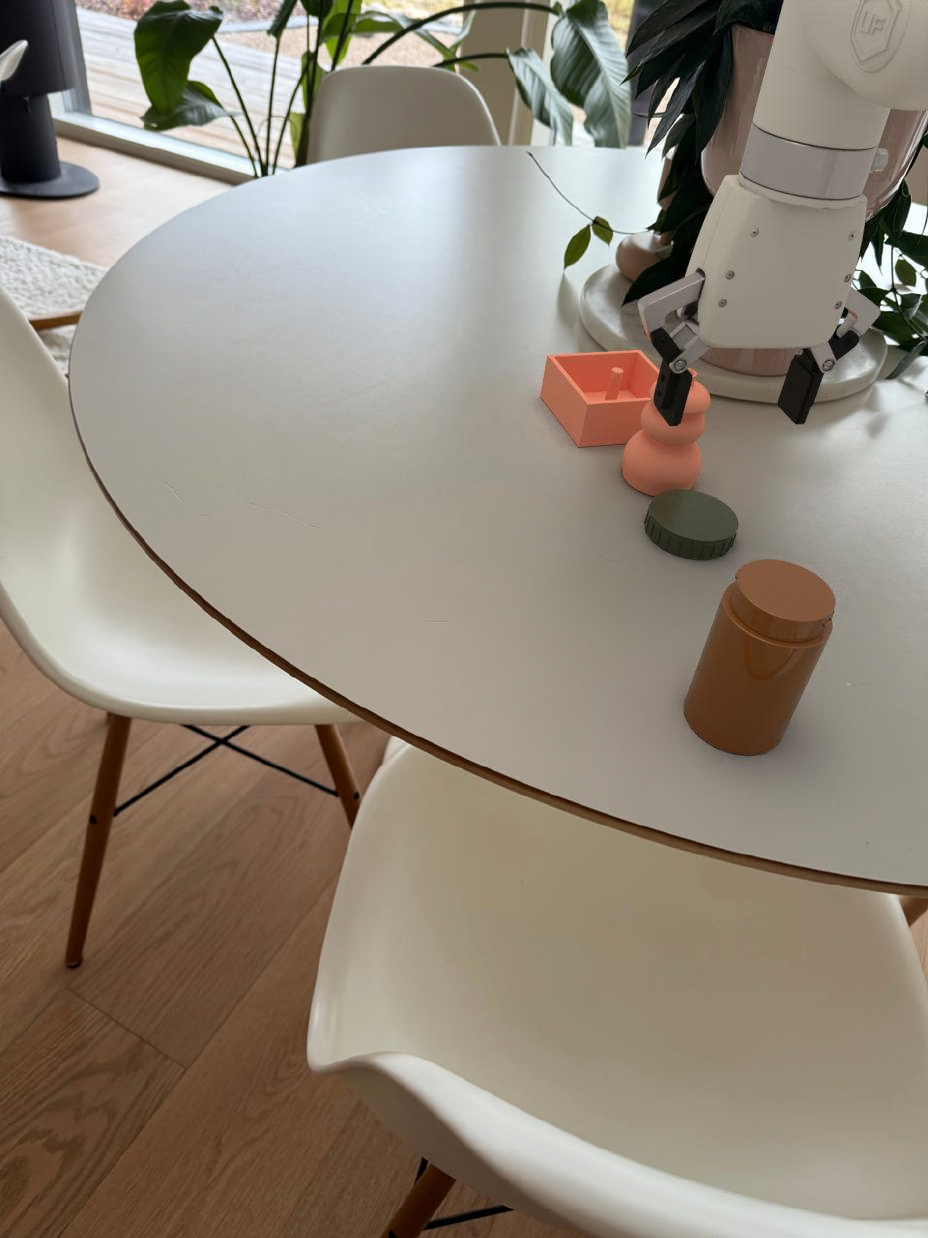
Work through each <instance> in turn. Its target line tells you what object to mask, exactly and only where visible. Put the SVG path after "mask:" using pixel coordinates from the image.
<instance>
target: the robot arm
mask: <svg viewBox="0 0 928 1238" xmlns="http://www.w3.org/2000/svg"><path fill="white" fill-rule="evenodd" d="M769 52H770V53H769V55H768V58H767V59H768V60H767V63H766V68H765V71H764V75H763V79H762V82H761V85H760V90H759V94H758V97H757V101H756V105H755V109H754V113H753V116H752V121H751V124H750V128H749V132H748V136H747V139H746V144H745V147H744V150H743V155H742V158H741V159H742V160H741V162H740V166H739V170H738V174H726V175H725V176H724V177H723V179H722V182H721V183H720V185H719V187H718V190H717V191H716V194H715V195H714V197H713V200H712V202H711V204H710V206H709V209H708V211H707V213H706V215H705V218H704V221H703V223H702V226H701V228H700V230H699V234H698V236H697V238H696V241H695V244H694V247H693V251H692V253H691V257H690V259H689V263H688V266H687V269H686V272H685V275H684V277H682V278H680V279H678V280H676V281H674V282H672V283H669V284H667V285H665V286H663V287H661V288H659V289H656V290H654V291H652V292H651V293H648V294H646V295H644V296H642V297H640V298H639V299H638V301H637V309H638V312H639V316H640V320H641V324H642V326H643V330H644V331H643V333H644V335H645V338H646V339H647V340H648V341H649V343H650V344H651V345H652V347H653V348H654V349H655V351H656V352H657V353H658V355H659V356H660V357H661V364H660V366H659V367H660V368H659V370H660V371H659V375H658V380H657V384H656V388H655V392H654V398H653V400H654V404H655V406H656V408H657V410H658V411H659V413H660V414H661V415H662V417H663V418H664V420H665V421H666V422H667V424H668V425H669V426H678V425H679V424H680V423H681V420H682V417H683V413H684V409H685V406H686V402H687V398H688V394H689V391H690V387H691V383H692V379H693V377H692V374H691V373H690V372H689V370H688V368H690V367H691V366H692V365H693V364H694V363H695V362H697V361H698V360H699V359H700V358H701V357H702V356H703V355H704V354H706V352H708V351H709V350H710V349H711V348H715V349H750V350H751V349H752V350H753V349H757V350H758V349H761V350H762V349H763V350H764V349H765V350H766V349H770V350H771V349H773V350H774V349H775V350H776V349H779V350H781V349H783V350H784V349H785V350H786V349H790V350H791V349H800V351H801V354H794V355H793V358H792V359H791V360H790V363H789V365H788V369H787V372H786V375H785V378H784V381H783V384H782V387H781V390H780V393H779V396H778V399H777V406H778V408H779V409H780V410H781V411H782V412H783V413H784V414H785V415H786V416H787V418H788V419H789V420H790V421H791V422H792V423H794V425H805V424H806V422H807V418H808V416H809V413H810V410H811V408H813V406H814V404H815V401H816V398H817V395H818V392H819V389H820V387H821V384H822V382H823V378H824V375H825V374H829V373H831V372H833V371H834V370H835V368H836V366H837V363H838V361H839V360H840V359H842V358H843V357H844V356H845V355H846V354H848V353H849V352H850V351H852V350H853V349H854V348H856V347H857V346H858V345H859V343H860V337H861V336H864V334H865V333H866V332H867V331H868V330H869V329H870V328H871V327H872V325H873V324H874V323H875V322H876V321H877V319H879V317H880V316H881V312H882V311H881V308H880V306H877V305H876V304H875V303H874V302H873V301H872V300H870V299H868V298H867V297H866V296H865V295H864V294H863V293H861V292H859V291H858V290H856V288H854V287H853V286H852V283H853V280H854V277H855V273H856V269H857V264H858V260H859V256H860V252H861V248H862V243H863V236H864V232H865V225H866V224H865V223H866V219H867V209H868V198H867V196H866V195H865V194H864V193H863V191H864V189H865V188H866V186H867V183H868V180H869V177H870V174H873V173H881V172H884V170H886V168H887V166H888V164H889V161H890V159H889V158H890V154H889V151H888V149H887V148H881V147H880V145H881V139H882V136H883V133H884V130H885V128H886V125H887V121H888V118H889V115H890V113H891V110H898V111H912V112H913V111H917V112H918V111H923V112H924V111H925V112H926V111H928V0H783V2H782V6H781V11H780V13H779V18H778V21H777V25H776V29H775V33H774V37H773V40H772V44H771V48H770V51H769ZM844 309H847V311H848V312H847V315H846V316H845V317H844V319H843V322H842V323H840V324H839V322H840V320H841V318H842V315H843V313H844ZM674 311H676V315H677V316H678V318H679V319H680V320H681V321H682V322H681V323H680V324H679V325H678V326H677V327H675V328H674V329H673V330H672V331H671V332H670V333H668V329H667V323H666V318H667V317H668V315H669V314H670V313H672V312H674Z"/></svg>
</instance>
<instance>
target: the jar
mask: <svg viewBox="0 0 928 1238" xmlns="http://www.w3.org/2000/svg"><path fill="white" fill-rule="evenodd" d="M734 579H735V580H734V581H733V582H731V583H730V584H728V586H727V587H726V588H725V589H724V591H723V594H722V596H721V599H720V601H719V605H718V606H717V610H716V613H715V615H714V618H713V621H712V624H711V627H710V629H709V632H708V636H707V637H706V640H705V643H704V645H703V649H702V652H701V653H700V657H699V659H698V663H697V665H696V668H695V671H694V673H693V676H692V680H691V682H690V685H689V688H688V690H687V693H686V696H685V698H684V701H683V713H684V716H685V717H684V718H685V719H686V722H687V723H688V725H689V726H690V728H691V730H693V731H694V733H695V734H696V735H697V736H698V737H700V738H701V739H702V740H703V741H704V742H706V743H707V744H710V745H711V746H713V747H714V748H717V749H718V750H721V751H724V752H727V753H731V754H733V755H740V756H756V755H762V754H765V753H768V752H770V751H772V750H774V749H775V748H776V747H777V746H778V745H779V744H780V743H781V742H782V739H783V738H784V735H785V733H786V731H787V728H788V727H789V724H790V722H791V720H792V718H793V716H794V714H795V711H796V710H797V707H798V705H799V703H800V701H801V699H802V697H803V695H804V692H805V690H806V688H807V686H808V684H809V682H810V679H811V677H812V675H813V673H814V671H815V669H816V667H817V664H818V662H819V660H820V657H821V656H822V654H823V652H824V650H825V648H826V646H827V643H828V642H829V639H830V637H831V634H832V633H833V628H834V627H833V626H834V624H833V617H834V615H835V609H836V597H835V594H834V591H833V590H832V588H831V587H830V585H829V584H828V583H827V582H826V581H825V580H824V579H823V578H822V577H821V576H819V575H818V574H817V573H815V572H813V571H811V570H810V569H808V568H806V567H804V566H802V565H799V564H797V563H794V562H791V561H786V560H782V559H773V558H764V559H756V560H753V561H750V562H747V563H746V564H743V565H742V566H741V567H740V568H738V569H737V571H736V573H735V575H734Z"/></svg>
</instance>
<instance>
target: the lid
mask: <svg viewBox="0 0 928 1238" xmlns="http://www.w3.org/2000/svg"><path fill="white" fill-rule="evenodd" d="M643 524H644V531H645V532H646V534H647V536H648V537H649V539H650V540H651V541H652V542H653V543H654V544H655V545H657V546H658V547H660V548H661V549H663V550H664V551H666V552H668V553H670V554H673V555H675V556H678V557H681V558H686V559H690V560H700V561H701V560H703V561H704V560H705V561H707V560H713V559H717V558H720V557H722V556H724V555H726V554H727V553H729V552H730V550H731V548H733V546H734V543H735V540H736V537H737V534H738V533H737V532H738V529H739V518H738V516H737V515H736V513H735V512H734V510H733V509H732V507H730V506H729V505H728V504H727V503H725V502H723V501H722V500H720V499H719V498H717V497H715V496H712V495H711V494H707V493H704V492H701V491H698V490H691V489H690V490H684V489H676V490H668V491H664V492H662V493H659V494H658V495H656V496H653V498H652V499H651V501H650V503H649V504H648V507H647V510H646V515H645V518H644V522H643Z"/></svg>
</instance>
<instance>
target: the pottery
mask: <svg viewBox="0 0 928 1238" xmlns="http://www.w3.org/2000/svg"><path fill="white" fill-rule="evenodd" d="M688 370H689V372H690V373H691V374H692V377H693V379H692V383H691V387H690V391H689V394H688V398H687V402H686V406H685V409H684V413H683V417H682V420H681V423H680V424H679V425H678V426H669V425H668V424H667V422H666V421H665V420H664V418H663V417H662V415H661V414H660V413H659V411H658V410H657V408H656V406H655V404H654V400H653V398H654V392H655V388H656V384H657V380H658V375H659V371H660V368H658V367H657V366H656V365H655V363H653V362H652V361H651V360H650V359H649V358H648V356H646V355H645V353H644V352H643V351H642V350H641V349H633V350H630V349H629V350H613V351H612V350H611V351H595V352H592V351H591V352H574V353H557V354H554V353H553V354H547V355H546V360H545V366H544V372H543V376H542V382H541V389H540V393H539V398H541V400H542V401H543V402H544V404H545V405H546V407H547V408H548V409H549V411H550V412H551V413H552V414H553V416H554V417H555V419H556V420H557V421H558V422H559V424H560V425H561V426H562V428H563V429H564V431H565V432H566V433H567V434H568V435H569V437H570V438H571V439H572V441H573V442H574V443H575V445H576V446H577V448H587V447H599V446H600V447H601V446H610V445H611V446H612V445H623V444H625V446H624V450H623V452H622V457H621V459H622V477H623V479H624V480H625V482H626V483H627V484H628V485H629V486H630V487H632V488H633V489H635V490H636V491H639V492H641V493H642V494H646V495H648V496H652V497H655V496H656V495H658V494H659V493H662V492H664V491H668V490H676V489H684V490H691V489H692V487H693V486H694V484H695V482H696V481H697V480H698V477H699V476H700V474H701V471H702V463H703V460H702V459H703V458H702V454H701V451H700V447H699V445H698V444H697V441H698V440H699V439H700V438H701V437H702V435H703V434H704V432H705V429H706V417H705V414H704V412H705V411H706V410H708V409H709V407H710V406H711V395H710V393H709V391H708V390H707V388H706V387H705V386H704V385H703V384H701V383H700V382H699V381H697V380H696V379H697V375H698V373H697V372H696V370H694V369H693V368H690V367H689V368H688Z"/></svg>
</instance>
